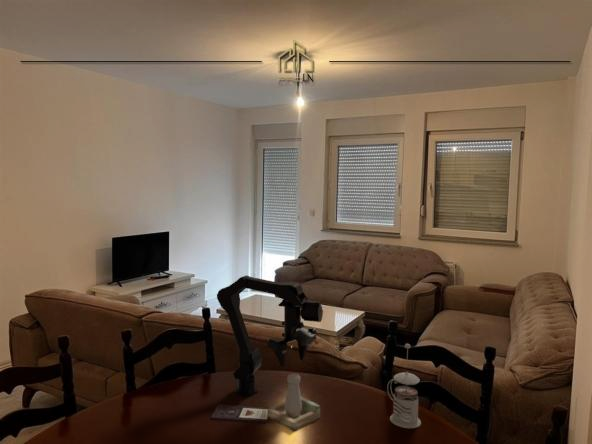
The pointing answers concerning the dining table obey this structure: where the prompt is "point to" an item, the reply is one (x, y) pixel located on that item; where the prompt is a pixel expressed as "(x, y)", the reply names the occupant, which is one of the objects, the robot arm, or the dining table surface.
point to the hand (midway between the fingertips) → (292, 363)
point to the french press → (410, 413)
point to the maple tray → (305, 417)
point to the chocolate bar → (240, 413)
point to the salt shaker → (293, 396)
